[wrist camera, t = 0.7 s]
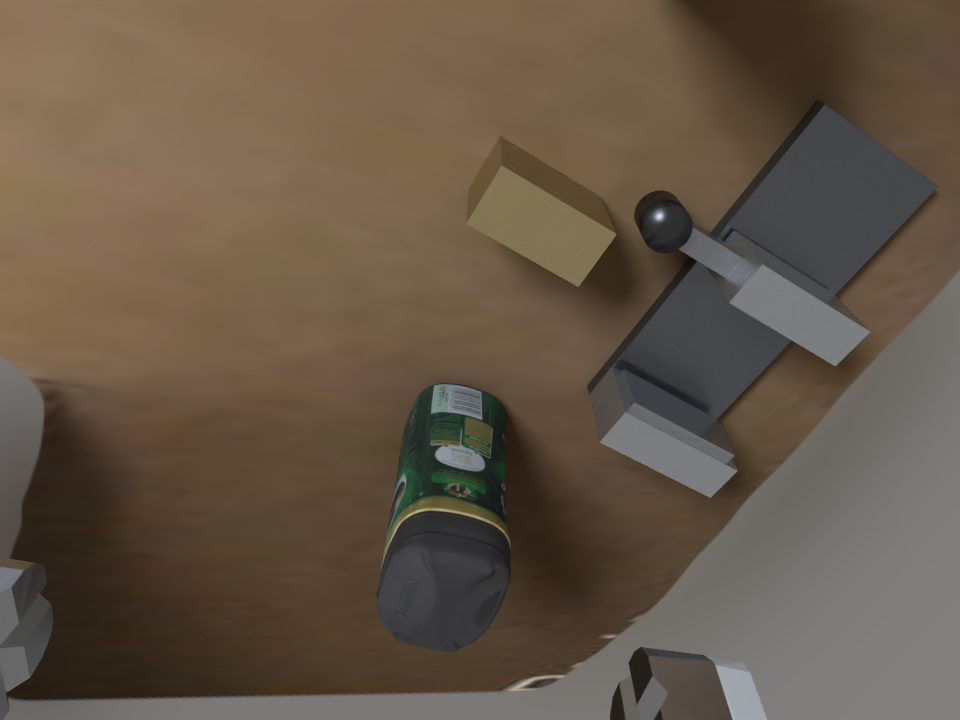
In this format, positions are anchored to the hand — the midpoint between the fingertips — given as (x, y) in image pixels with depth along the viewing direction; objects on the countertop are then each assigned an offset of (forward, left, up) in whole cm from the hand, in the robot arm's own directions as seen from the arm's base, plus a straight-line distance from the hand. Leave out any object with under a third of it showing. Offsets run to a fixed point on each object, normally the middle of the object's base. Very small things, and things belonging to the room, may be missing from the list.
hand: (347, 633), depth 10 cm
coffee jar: (+23, +13, -40) cm, 48 cm away
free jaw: (-1, +21, -38) cm, 44 cm away
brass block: (+3, +8, -40) cm, 41 cm away
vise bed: (+1, +25, -40) cm, 47 cm away
